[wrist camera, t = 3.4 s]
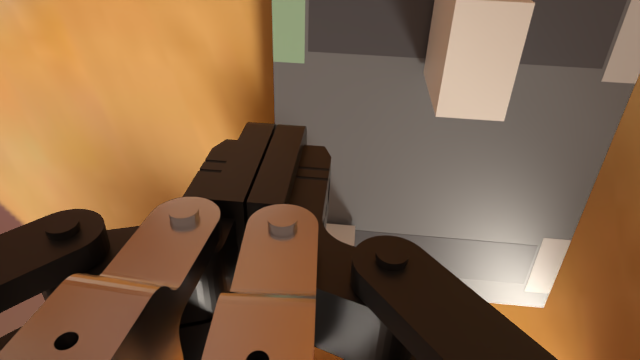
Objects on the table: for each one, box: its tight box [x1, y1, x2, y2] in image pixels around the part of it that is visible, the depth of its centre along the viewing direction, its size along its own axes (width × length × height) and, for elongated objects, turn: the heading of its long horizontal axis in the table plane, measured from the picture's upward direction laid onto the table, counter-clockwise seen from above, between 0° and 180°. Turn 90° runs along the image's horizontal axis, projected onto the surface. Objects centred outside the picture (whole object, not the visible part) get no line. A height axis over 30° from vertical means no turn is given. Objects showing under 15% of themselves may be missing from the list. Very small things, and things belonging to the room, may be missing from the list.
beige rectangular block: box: [423, 0, 535, 121], centre depth 22 cm, size 3×5×6 cm, turn 179°
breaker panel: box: [272, 0, 640, 308], centre depth 30 cm, size 20×24×2 cm
